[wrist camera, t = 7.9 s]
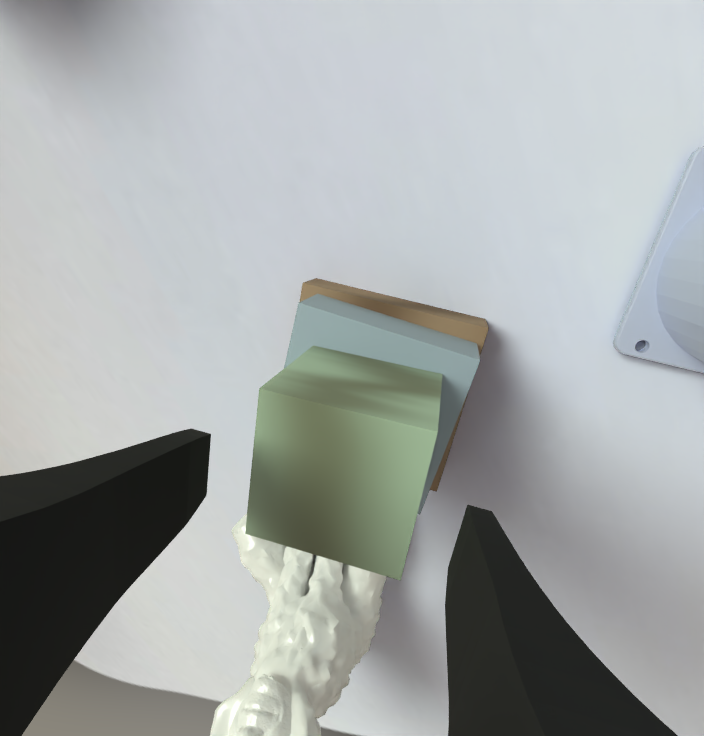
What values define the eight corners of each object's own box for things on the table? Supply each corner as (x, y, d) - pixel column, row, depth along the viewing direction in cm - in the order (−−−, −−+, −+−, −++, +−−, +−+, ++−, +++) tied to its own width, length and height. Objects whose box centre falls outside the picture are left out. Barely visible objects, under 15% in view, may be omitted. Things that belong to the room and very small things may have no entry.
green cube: (442, 374, 16) (438, 431, 11) (414, 488, 18) (400, 580, 13) (313, 345, 17) (259, 388, 12) (298, 457, 18) (245, 533, 14)
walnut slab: (484, 316, 20) (488, 328, 18) (438, 464, 23) (436, 491, 20) (319, 277, 21) (302, 282, 19) (293, 422, 24) (276, 443, 21)
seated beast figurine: (396, 490, 23) (343, 734, 12) (429, 621, 25) (410, 935, 14) (239, 506, 26) (73, 718, 14) (280, 624, 28) (163, 890, 16)
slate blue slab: (476, 343, 18) (480, 360, 16) (423, 481, 20) (419, 514, 18) (317, 293, 19) (298, 302, 16) (284, 432, 21) (264, 457, 19)
